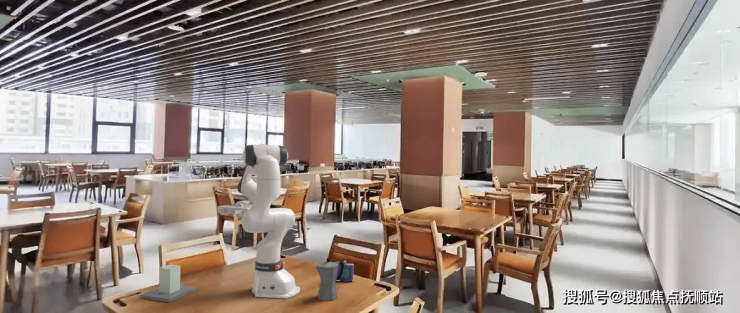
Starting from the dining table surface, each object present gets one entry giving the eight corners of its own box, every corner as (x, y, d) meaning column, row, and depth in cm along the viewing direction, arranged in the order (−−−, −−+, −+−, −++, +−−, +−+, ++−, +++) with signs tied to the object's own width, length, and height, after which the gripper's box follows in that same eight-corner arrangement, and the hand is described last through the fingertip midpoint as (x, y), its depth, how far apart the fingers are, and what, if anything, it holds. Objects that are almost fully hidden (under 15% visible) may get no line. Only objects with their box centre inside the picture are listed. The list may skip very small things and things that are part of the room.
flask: (353, 280, 196) (354, 260, 196) (353, 282, 193) (353, 261, 193) (336, 280, 196) (336, 259, 196) (335, 282, 193) (335, 261, 193)
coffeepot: (320, 303, 164) (321, 262, 164) (309, 297, 171) (310, 257, 171) (349, 296, 173) (350, 257, 173) (338, 290, 180) (339, 253, 181)
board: (196, 290, 176) (197, 277, 176) (170, 302, 161) (170, 288, 161) (169, 286, 181) (169, 274, 181) (140, 298, 165) (140, 284, 165)
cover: (179, 289, 173) (180, 265, 173) (169, 293, 167) (170, 269, 167) (169, 288, 175) (169, 264, 175) (158, 292, 169) (159, 267, 169)
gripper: (226, 202, 214) (210, 204, 201) (258, 204, 209) (243, 207, 195) (226, 213, 214) (209, 216, 201) (257, 215, 209) (242, 219, 195)
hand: (226, 211), depth 198 cm, fingers open, 8 cm apart
